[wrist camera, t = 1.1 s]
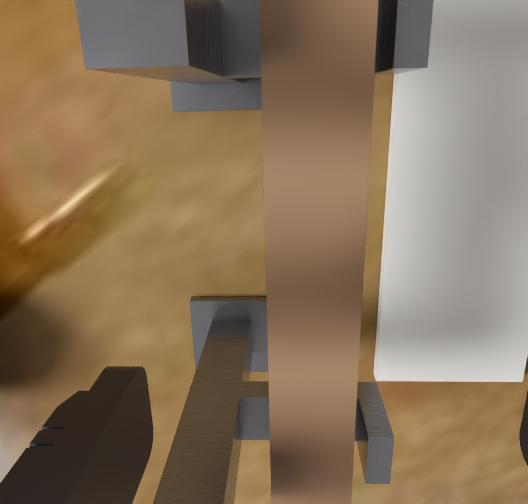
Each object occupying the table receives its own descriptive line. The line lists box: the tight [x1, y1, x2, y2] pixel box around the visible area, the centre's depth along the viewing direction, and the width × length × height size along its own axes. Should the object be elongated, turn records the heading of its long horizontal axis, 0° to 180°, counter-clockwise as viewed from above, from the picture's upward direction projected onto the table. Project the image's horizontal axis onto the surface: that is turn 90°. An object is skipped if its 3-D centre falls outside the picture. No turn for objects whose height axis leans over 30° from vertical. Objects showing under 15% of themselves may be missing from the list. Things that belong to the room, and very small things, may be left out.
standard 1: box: [153, 297, 394, 504], centre depth 21 cm, size 5×10×14 cm, turn 91°
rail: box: [259, 0, 378, 504], centre depth 16 cm, size 20×3×3 cm, turn 1°
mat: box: [374, 0, 528, 382], centre depth 24 cm, size 24×9×1 cm, turn 1°
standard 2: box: [75, 0, 434, 111], centre depth 16 cm, size 5×10×14 cm, turn 91°
